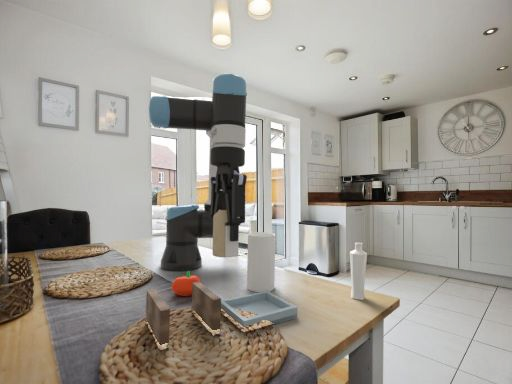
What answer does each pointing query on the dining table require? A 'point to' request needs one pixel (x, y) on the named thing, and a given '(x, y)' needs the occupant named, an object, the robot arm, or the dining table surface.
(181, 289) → the orange pumpkin
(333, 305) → the dining table surface
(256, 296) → the tray
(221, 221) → the candle
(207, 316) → the cradle
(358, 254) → the perfume bottle
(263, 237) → the white tall cylinder
